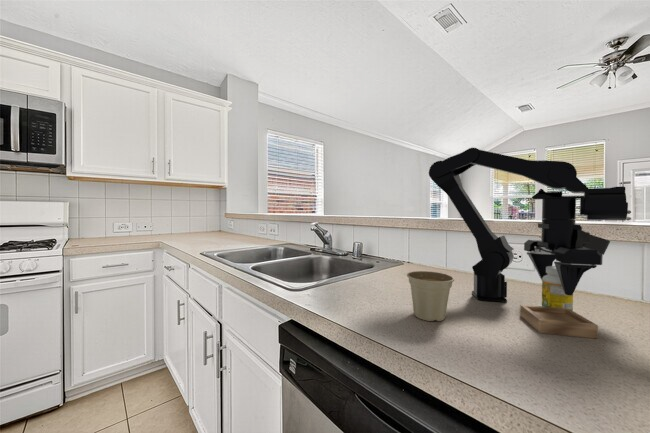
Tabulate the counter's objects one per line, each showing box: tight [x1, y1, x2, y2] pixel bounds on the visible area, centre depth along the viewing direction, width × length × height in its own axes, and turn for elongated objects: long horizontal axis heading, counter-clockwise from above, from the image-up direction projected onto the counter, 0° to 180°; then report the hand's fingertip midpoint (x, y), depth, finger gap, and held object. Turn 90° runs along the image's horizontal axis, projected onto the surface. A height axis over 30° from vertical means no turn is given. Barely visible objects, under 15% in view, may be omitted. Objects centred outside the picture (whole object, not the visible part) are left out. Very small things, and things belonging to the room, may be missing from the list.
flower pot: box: [406, 270, 456, 322], centre depth 58 cm, size 9×9×9 cm
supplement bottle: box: [541, 265, 574, 311], centre depth 62 cm, size 5×5×10 cm
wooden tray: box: [519, 304, 599, 339], centre depth 53 cm, size 9×9×2 cm
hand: (556, 288), depth 62 cm, fingers open, 9 cm apart
